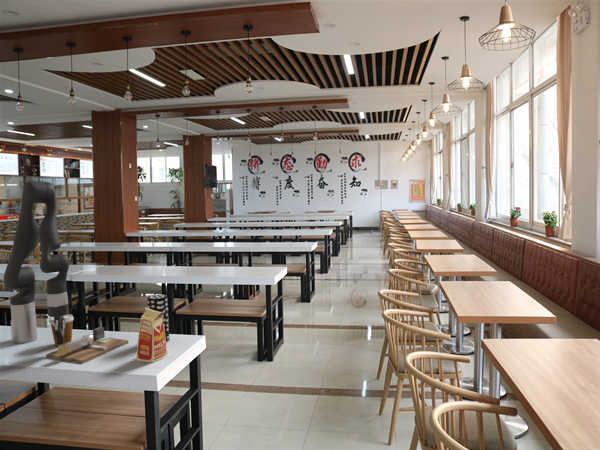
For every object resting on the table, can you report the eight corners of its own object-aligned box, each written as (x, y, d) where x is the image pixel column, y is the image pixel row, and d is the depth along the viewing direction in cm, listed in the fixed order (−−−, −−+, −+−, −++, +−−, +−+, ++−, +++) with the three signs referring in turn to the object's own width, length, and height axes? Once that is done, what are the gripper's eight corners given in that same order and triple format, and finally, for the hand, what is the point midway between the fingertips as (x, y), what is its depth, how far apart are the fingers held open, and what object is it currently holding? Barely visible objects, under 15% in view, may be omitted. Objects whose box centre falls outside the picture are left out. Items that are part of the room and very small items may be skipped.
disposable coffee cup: (76, 344, 195) (75, 317, 194) (52, 349, 190) (50, 321, 189) (73, 338, 203) (72, 312, 202) (49, 343, 197) (47, 316, 196)
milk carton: (136, 360, 175) (133, 310, 173) (151, 352, 184) (149, 304, 182) (155, 363, 172) (152, 312, 170) (170, 354, 181) (167, 305, 179)
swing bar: (88, 341, 190) (88, 333, 190) (95, 342, 189) (95, 334, 189) (57, 354, 177) (57, 345, 176) (65, 355, 175) (64, 346, 175)
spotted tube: (163, 345, 192) (161, 299, 190) (145, 344, 193) (143, 298, 192) (172, 338, 200) (170, 294, 198) (155, 337, 201) (153, 294, 200)
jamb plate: (46, 357, 181) (45, 342, 180) (93, 338, 203) (92, 325, 202) (83, 363, 173) (82, 348, 173) (128, 342, 195) (127, 329, 195)
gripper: (50, 300, 188) (53, 340, 190) (43, 308, 176) (47, 351, 177) (70, 298, 190) (73, 338, 192) (65, 306, 178) (68, 348, 179)
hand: (60, 344), depth 184 cm, fingers closed
